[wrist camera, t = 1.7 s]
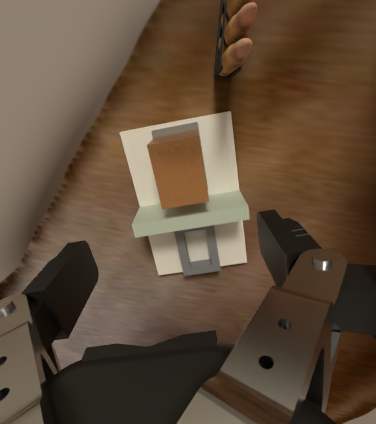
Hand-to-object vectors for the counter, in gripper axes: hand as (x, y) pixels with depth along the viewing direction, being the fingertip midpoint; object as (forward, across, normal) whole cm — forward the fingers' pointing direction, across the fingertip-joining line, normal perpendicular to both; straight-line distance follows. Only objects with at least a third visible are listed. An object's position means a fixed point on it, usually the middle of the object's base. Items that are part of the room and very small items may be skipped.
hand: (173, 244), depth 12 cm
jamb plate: (+20, 0, +5) cm, 20 cm away
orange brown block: (+18, 0, 0) cm, 18 cm away
